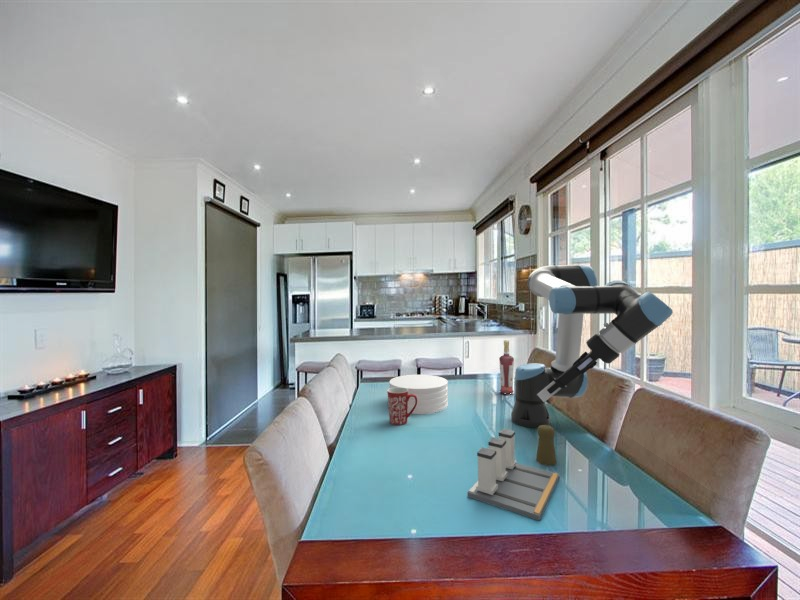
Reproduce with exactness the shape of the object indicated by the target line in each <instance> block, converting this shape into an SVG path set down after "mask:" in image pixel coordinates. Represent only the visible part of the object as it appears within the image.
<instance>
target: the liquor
mask: <svg viewBox="0 0 800 600" xmlns="http://www.w3.org/2000/svg"><path fill="white" fill-rule="evenodd" d="M509 346H510V340H503V347H504V348H503V355H501V356H500V357H498V358H499V372H500V390H499V392H500V393H501V394H503V393H506V394H510V393H512V394H513V393H514V392H515V391H514V387H513V385H514V366H515V365H514V364H515V363H514V360H515V359H514V357H513V356H512V355H510V347H509ZM510 395H511V394H510Z"/></svg>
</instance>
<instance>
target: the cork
mask: <svg viewBox="0 0 800 600" xmlns="http://www.w3.org/2000/svg"><path fill="white" fill-rule="evenodd" d="M536 429H537V430H536V431H537V432H536V433H537V435H538V442H537V443H538V444H537V451H536V457H535V461H536V463H538V464H541V465H543V466H548V467H549V466H551V467H552V466H556V465H557V455H556V447H555V440H554V438H555V435H556V430H555V428H554V426H553V427H552V426H551V425H541V426H539V427H538V428H536Z"/></svg>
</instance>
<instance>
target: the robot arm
mask: <svg viewBox="0 0 800 600" xmlns="http://www.w3.org/2000/svg"><path fill="white" fill-rule="evenodd" d="M527 287H528V290H529V291H530V293H532V294H533V295H534V296H537V297H541V298H544V299H546V300H548V304H549V308H550V311H551V312H552V313H553V314H557V315H558V323H557V335H556V336H557V337H556V346H555V347H556V348H555V359H554V360H552V361H551V362H550V367H546V365H545V364H543V363H534V362H531V363H525V364H521V365H519V366H517V367H516V369H515V373H514V374H515V376H514V380H515V383H514V384H515V388H514V389H515V391H514V392H515V393H514V394H515V400H514V401H515V402H514V404H513V408H512V411H511V414H510V415H511V416H510V418H511V421H512V422H513V423H514V424H516V425H518V426H522V427H527V428H535V429H538V427H539V426H541V425H548V426H551V416H550V414H549V410H548V408H547V405H546V402H547V401H548V400H549V399H550V398H551V397H552V398H581V397H582V396H583V395H585V393H586V391H587V388H588V374H587V371H588V370H590V369H593V368H594V367H595V366H597V364H598V362H597V361H598V360H601V361H602V362H603V363H605V364H611V363H613V361H615V360H617V358H619V357H620V355H621V354H625V353H626V352H627V351H628V350H630V349H632V347H634V345H636V344H637V343H638V342H640V341H642V339H643V338H645V337H646V336H648V335H649V334H650V333H651V332H653V331H654V330H655V329H657V328H658V327H660V326H662V325H663V323H664V322H665V321H666V320H668V319H669V318H670V317H671V316H672V315H673V313H674V312H673V309H672V308H671V307H670V306H669V305H667V304H666V303H665V302H664V301H663V300H661V299H660V298H659V297H658V296H656V295H655V294H654V293H653V292H651V291H646V292H644V293H643V294H641V293H640V292H638V291H637V290H636V289H635V288H634V286H632V285H631V284H629V283H627V282H626V281H623V280H619V279H615V280H611V281H609V282H608V283H605V285H598V278H597V275H596V272H595V270H594V269H593V268H592V266H591V265H588V264H561V265H560V264H557V265H556V264H555V265H552V264H551V265H550V264H549V265H544V266H540V267H539V268H536V269H535V270H533V271H532V272H531V273H530V274H529V275H528V278H527ZM584 314H587V315H588V314H598V315H600V314H608V315H609V314H615V315H616V316H615V317H614V319H612V320H611V321H610V322H604V323H603V326H604V327H602V328H601V329H600V330H599V331H598V332H599V333H594V334H593V335H592V336H591V337H590V338H589V339H587V340H586V346H587V347H588V349H590V352H587V351H584V352H583V353H582V354H581V346H582V335H583V322H584V321H583V320H584ZM580 354H581V355H580Z"/></svg>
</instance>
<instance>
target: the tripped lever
mask: <svg viewBox="0 0 800 600" xmlns="http://www.w3.org/2000/svg"><path fill="white" fill-rule="evenodd" d="M515 435H516V430H511V429H505V428H502V429H501V430H500V431H499V432H498V439H503V440H506V444H505V450H506V468H509V469H513V468H514V467H515V465H516V463H517V460H516V459H515V457H516V456H515V455H516V451H515V444H516V443H515V442H516V441H515Z"/></svg>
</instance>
